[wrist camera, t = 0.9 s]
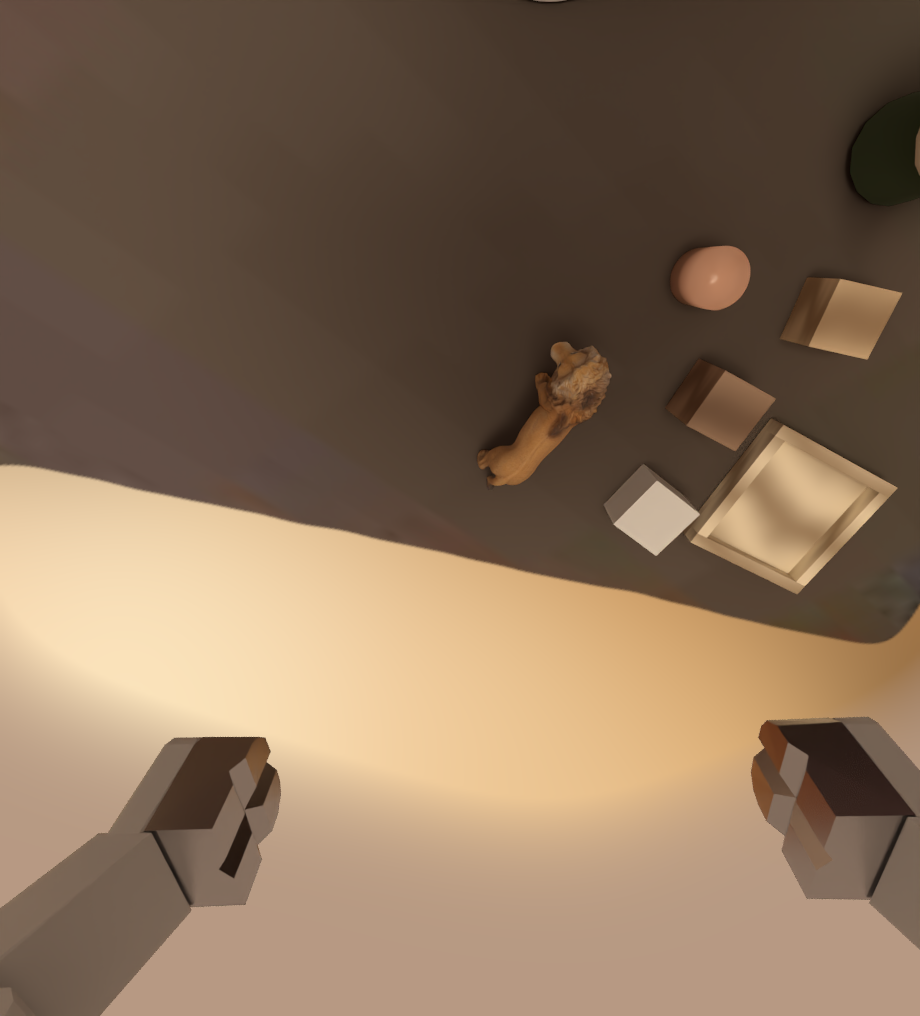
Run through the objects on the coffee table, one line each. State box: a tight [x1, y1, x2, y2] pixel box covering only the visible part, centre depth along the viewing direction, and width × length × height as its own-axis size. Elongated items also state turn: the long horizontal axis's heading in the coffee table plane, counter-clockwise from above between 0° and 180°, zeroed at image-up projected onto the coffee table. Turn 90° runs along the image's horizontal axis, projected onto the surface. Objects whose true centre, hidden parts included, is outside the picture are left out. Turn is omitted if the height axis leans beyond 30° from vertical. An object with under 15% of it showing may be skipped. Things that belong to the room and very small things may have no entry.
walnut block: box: [665, 359, 775, 451], centre depth 41 cm, size 4×4×5 cm
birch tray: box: [683, 418, 897, 594], centre depth 46 cm, size 12×12×2 cm
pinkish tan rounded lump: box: [670, 246, 750, 310], centre depth 37 cm, size 4×4×4 cm
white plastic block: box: [604, 464, 700, 555], centre depth 45 cm, size 5×5×4 cm
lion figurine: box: [477, 342, 611, 491], centre depth 40 cm, size 15×5×9 cm, turn 153°
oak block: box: [780, 277, 902, 359], centre depth 38 cm, size 4×4×4 cm
